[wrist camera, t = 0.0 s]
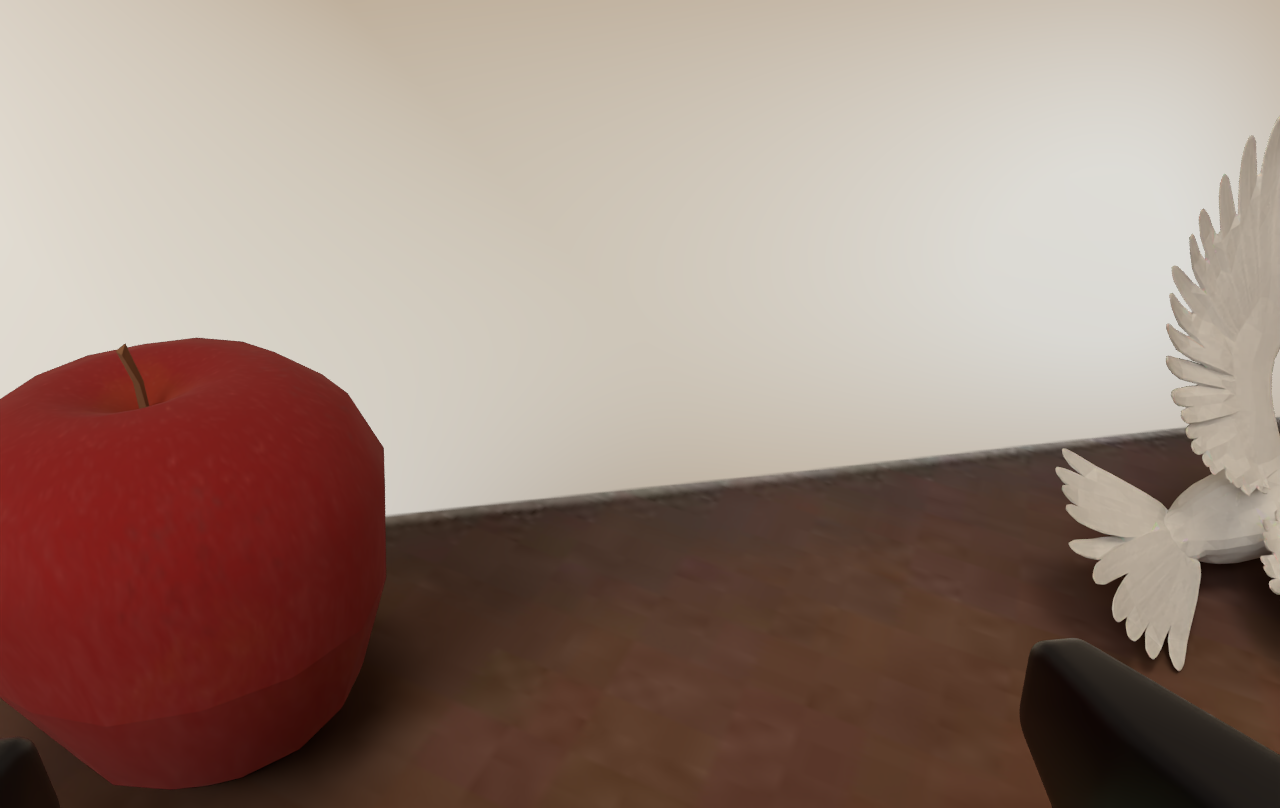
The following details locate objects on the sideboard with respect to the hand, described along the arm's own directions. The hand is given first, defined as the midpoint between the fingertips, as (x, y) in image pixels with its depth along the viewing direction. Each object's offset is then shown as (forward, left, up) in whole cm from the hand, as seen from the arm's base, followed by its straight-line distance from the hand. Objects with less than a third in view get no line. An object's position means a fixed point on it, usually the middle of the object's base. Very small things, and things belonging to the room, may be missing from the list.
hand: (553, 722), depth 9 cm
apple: (+18, +11, -16) cm, 26 cm away
